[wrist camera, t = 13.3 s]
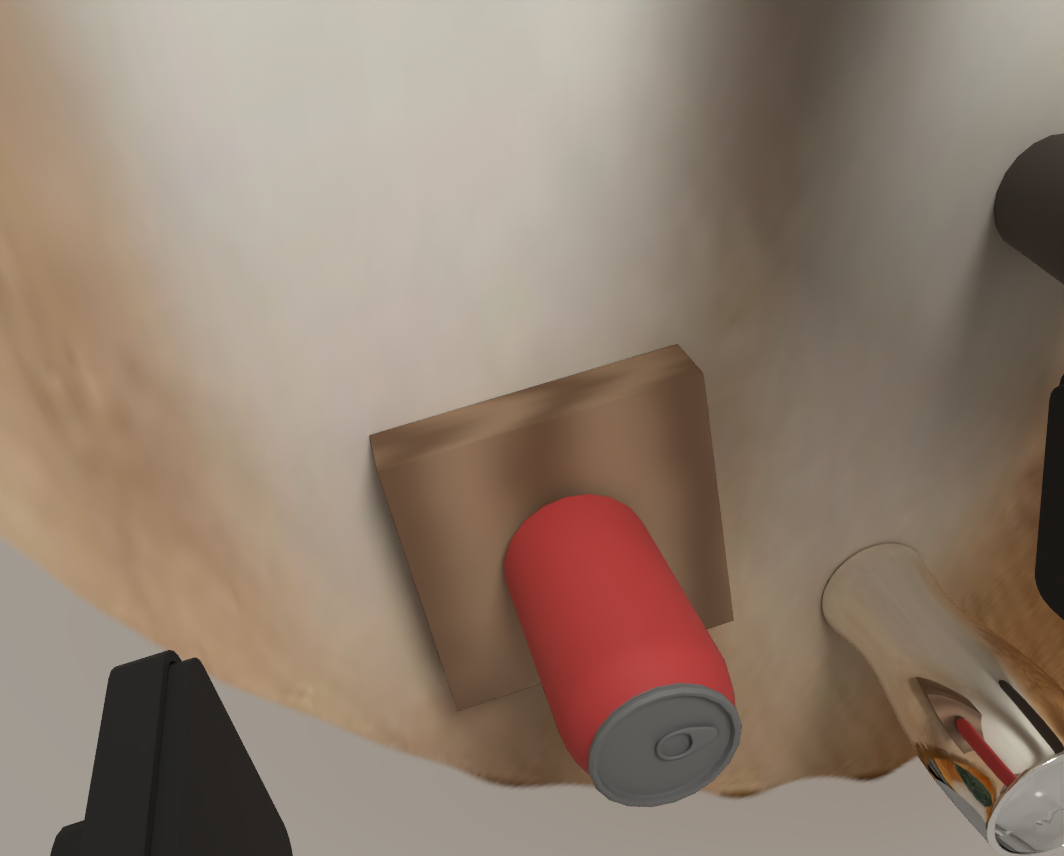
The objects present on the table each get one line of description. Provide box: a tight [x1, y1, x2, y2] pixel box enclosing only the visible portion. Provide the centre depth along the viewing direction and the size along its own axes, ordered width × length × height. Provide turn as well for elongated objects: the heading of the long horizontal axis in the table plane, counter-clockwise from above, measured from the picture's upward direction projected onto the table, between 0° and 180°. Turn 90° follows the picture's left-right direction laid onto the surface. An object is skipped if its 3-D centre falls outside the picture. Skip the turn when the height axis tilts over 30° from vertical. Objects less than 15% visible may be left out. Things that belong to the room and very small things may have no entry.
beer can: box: [504, 494, 742, 807], centre depth 40 cm, size 7×7×12 cm
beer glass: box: [822, 543, 1064, 856], centre depth 49 cm, size 7×7×15 cm
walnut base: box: [370, 344, 734, 711], centre depth 46 cm, size 14×14×3 cm
